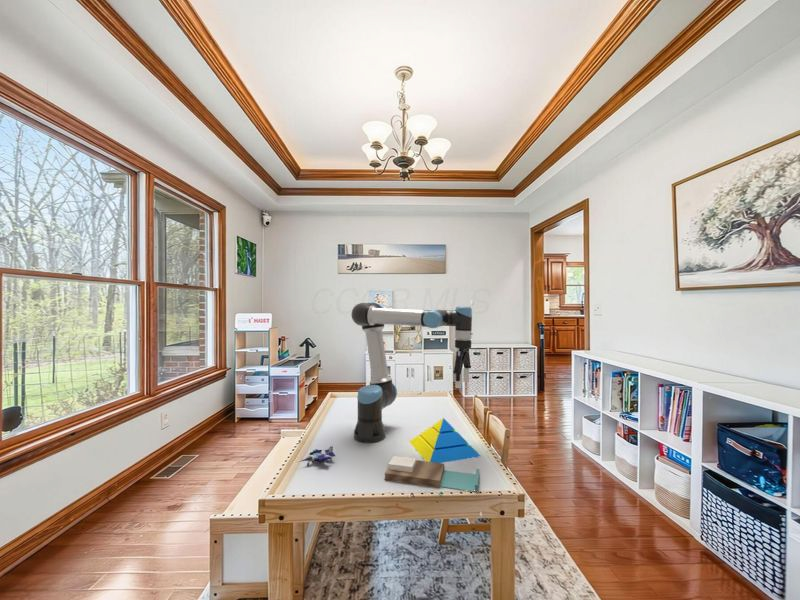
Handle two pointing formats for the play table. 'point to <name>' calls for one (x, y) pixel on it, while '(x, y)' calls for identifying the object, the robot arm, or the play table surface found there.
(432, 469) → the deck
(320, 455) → the toy airplane
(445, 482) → the mat
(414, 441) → the pyramid toy
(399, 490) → the play table surface
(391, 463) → the tile
